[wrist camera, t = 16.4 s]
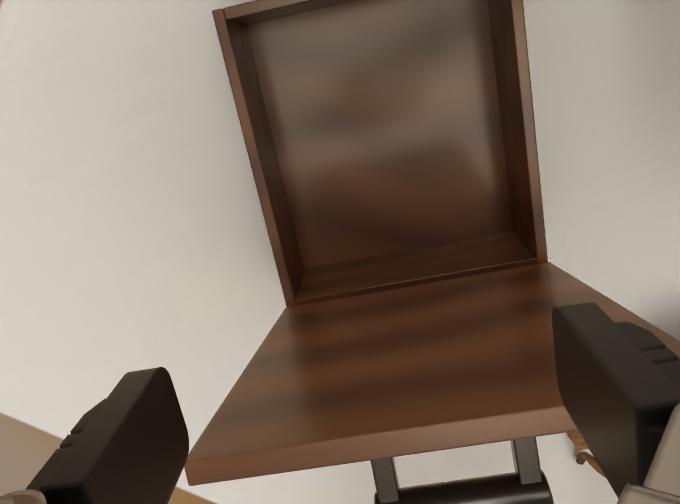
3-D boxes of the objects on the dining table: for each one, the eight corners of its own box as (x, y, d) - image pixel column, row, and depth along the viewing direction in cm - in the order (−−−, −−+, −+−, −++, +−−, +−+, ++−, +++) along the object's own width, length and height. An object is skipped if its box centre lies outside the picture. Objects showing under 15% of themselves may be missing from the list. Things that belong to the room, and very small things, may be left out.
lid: (181, 462, 17) (219, 613, 18) (744, 379, 15) (761, 549, 16) (285, 307, 35) (301, 386, 35) (549, 261, 33) (561, 344, 34)
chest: (236, 18, 36) (211, 10, 30) (491, -40, 34) (517, -60, 28) (298, 274, 41) (287, 310, 35) (521, 235, 39) (548, 265, 33)
